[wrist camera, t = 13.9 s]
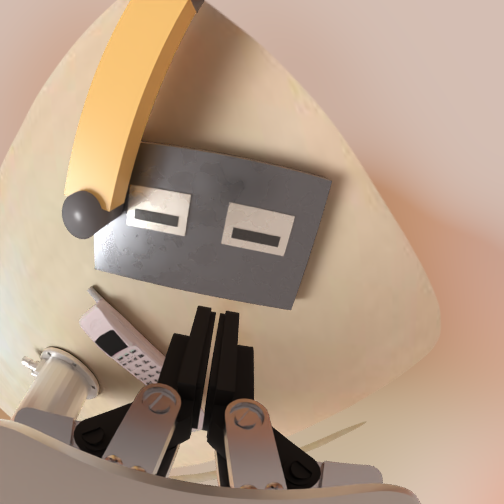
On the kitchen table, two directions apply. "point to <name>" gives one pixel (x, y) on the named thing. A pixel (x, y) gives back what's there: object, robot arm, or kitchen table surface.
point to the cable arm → (120, 110)
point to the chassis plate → (214, 225)
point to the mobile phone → (124, 343)
